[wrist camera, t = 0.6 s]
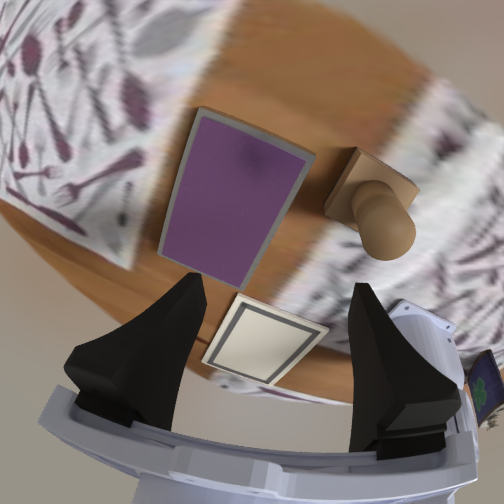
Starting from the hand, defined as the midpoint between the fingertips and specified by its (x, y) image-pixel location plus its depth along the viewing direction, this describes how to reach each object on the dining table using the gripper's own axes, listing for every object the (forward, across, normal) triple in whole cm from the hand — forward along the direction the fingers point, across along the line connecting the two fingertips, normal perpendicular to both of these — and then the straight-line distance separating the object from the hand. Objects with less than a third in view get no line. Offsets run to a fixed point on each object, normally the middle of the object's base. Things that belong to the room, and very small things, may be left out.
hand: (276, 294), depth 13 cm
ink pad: (+10, +5, 0) cm, 11 cm away
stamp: (+10, -6, -1) cm, 12 cm away
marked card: (+10, +3, +18) cm, 21 cm away
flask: (+10, -30, +23) cm, 39 cm away
